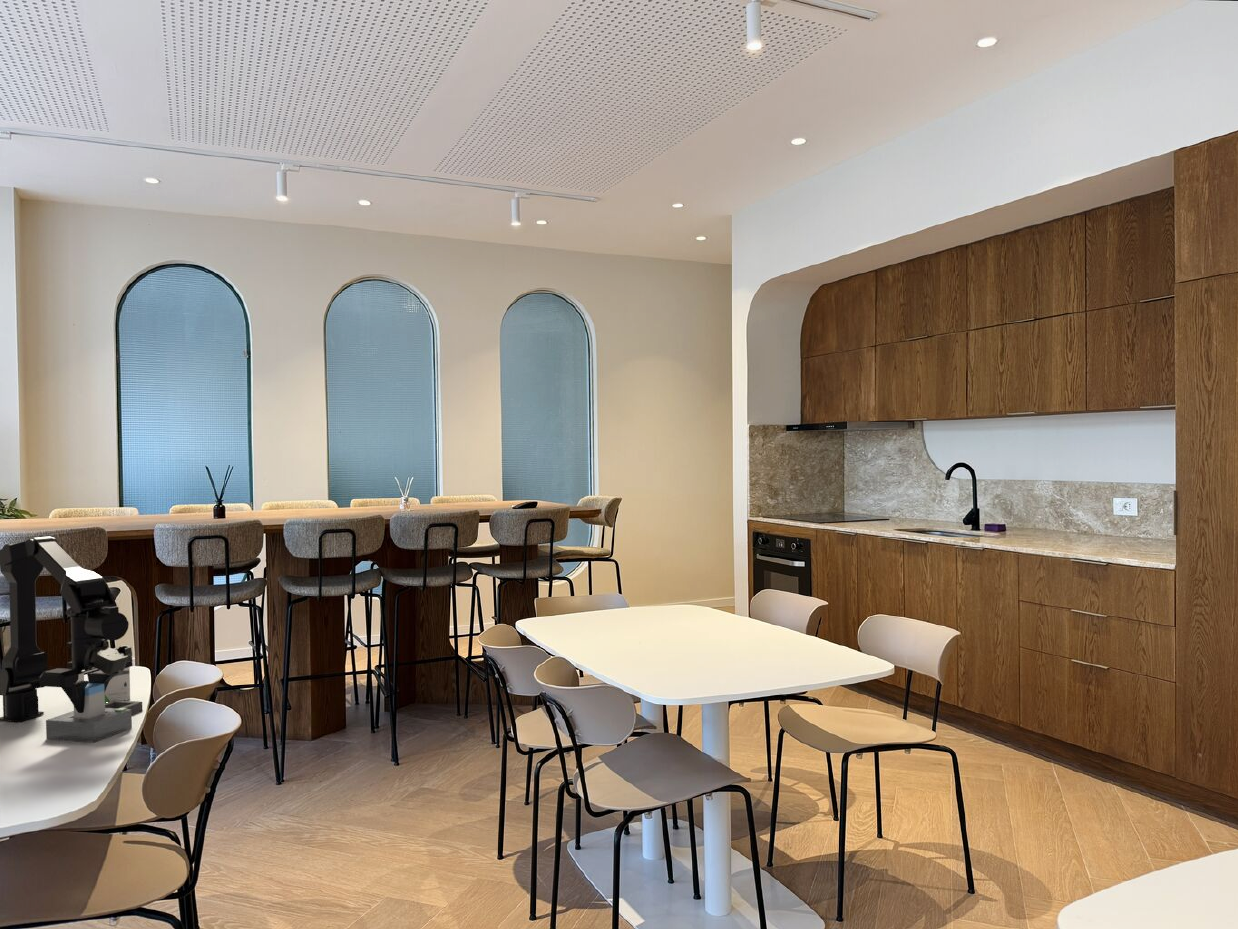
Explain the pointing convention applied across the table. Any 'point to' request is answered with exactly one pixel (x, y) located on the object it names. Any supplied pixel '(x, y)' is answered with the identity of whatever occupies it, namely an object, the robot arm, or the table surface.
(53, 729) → the port
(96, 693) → the plug
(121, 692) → the ink box
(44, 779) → the table surface
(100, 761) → the table surface
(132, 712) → the gray square frame
